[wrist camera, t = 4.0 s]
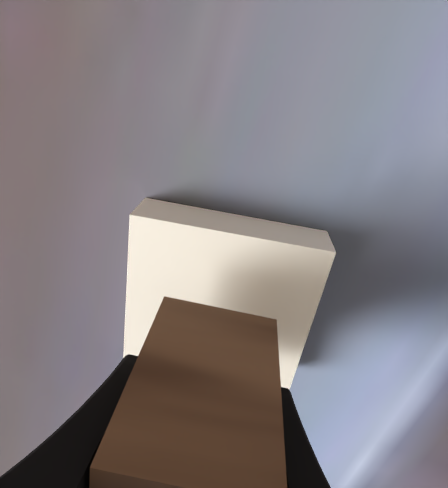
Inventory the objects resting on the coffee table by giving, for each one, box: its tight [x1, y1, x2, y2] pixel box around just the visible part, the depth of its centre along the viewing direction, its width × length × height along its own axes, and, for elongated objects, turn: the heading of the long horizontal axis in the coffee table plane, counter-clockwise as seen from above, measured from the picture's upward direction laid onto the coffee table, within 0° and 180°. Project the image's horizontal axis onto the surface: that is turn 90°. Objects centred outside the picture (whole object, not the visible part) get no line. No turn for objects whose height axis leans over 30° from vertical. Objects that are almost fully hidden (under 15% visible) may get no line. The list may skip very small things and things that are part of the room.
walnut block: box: [89, 296, 287, 488], centre depth 11 cm, size 4×4×6 cm
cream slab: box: [123, 198, 336, 389], centre depth 16 cm, size 8×8×2 cm
